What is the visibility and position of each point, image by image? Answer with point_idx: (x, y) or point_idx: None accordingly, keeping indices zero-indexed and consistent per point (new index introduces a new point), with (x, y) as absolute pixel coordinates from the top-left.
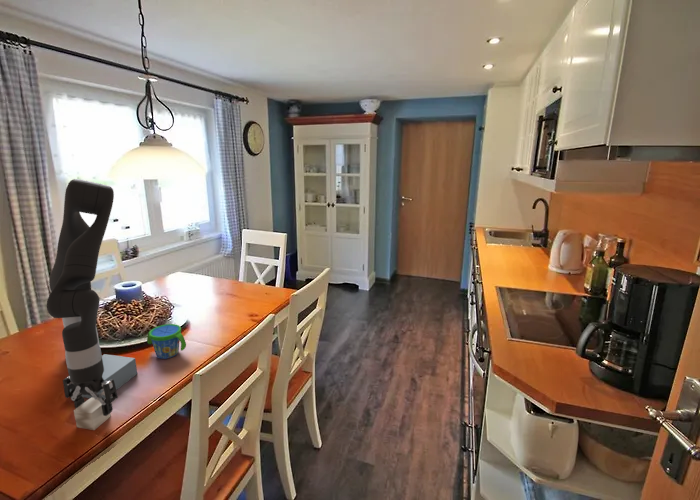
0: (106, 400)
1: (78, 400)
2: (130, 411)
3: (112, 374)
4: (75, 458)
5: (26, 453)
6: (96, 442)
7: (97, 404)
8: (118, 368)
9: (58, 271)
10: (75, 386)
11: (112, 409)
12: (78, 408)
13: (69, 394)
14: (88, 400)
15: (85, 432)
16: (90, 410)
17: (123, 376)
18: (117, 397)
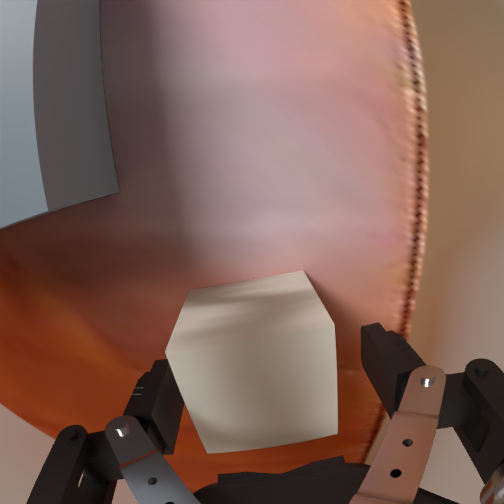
0: (457, 433)
1: (168, 442)
2: (375, 200)
3: (33, 70)
4: (365, 441)
5: (194, 475)
6: None
7: (299, 384)
8: (22, 8)
9: None
10: (73, 478)
11: (398, 334)
12: (216, 440)
13: (112, 486)
14: (187, 382)
15: None
16: (311, 427)
17: (77, 16)
18: (489, 362)
